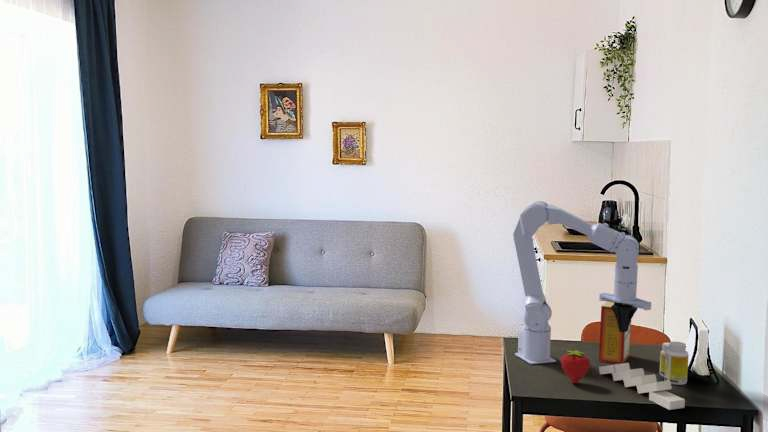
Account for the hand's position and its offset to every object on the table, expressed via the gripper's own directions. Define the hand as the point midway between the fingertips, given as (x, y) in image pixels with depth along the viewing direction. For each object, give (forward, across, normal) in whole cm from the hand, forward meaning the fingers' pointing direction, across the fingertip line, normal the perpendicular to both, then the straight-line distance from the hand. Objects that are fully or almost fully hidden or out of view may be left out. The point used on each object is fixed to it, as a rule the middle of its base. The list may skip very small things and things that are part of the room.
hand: (623, 331), depth 208 cm
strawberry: (+11, -1, -20) cm, 22 cm away
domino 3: (+10, +14, -12) cm, 20 cm away
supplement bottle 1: (+11, +11, +5) cm, 16 cm away
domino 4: (+10, +18, -13) cm, 24 cm away
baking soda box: (+11, -7, +7) cm, 15 cm away
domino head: (+10, -1, -6) cm, 11 cm away
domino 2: (+10, +9, -10) cm, 17 cm away
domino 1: (+10, +5, -8) cm, 13 cm away
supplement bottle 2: (+11, +15, +2) cm, 18 cm away
